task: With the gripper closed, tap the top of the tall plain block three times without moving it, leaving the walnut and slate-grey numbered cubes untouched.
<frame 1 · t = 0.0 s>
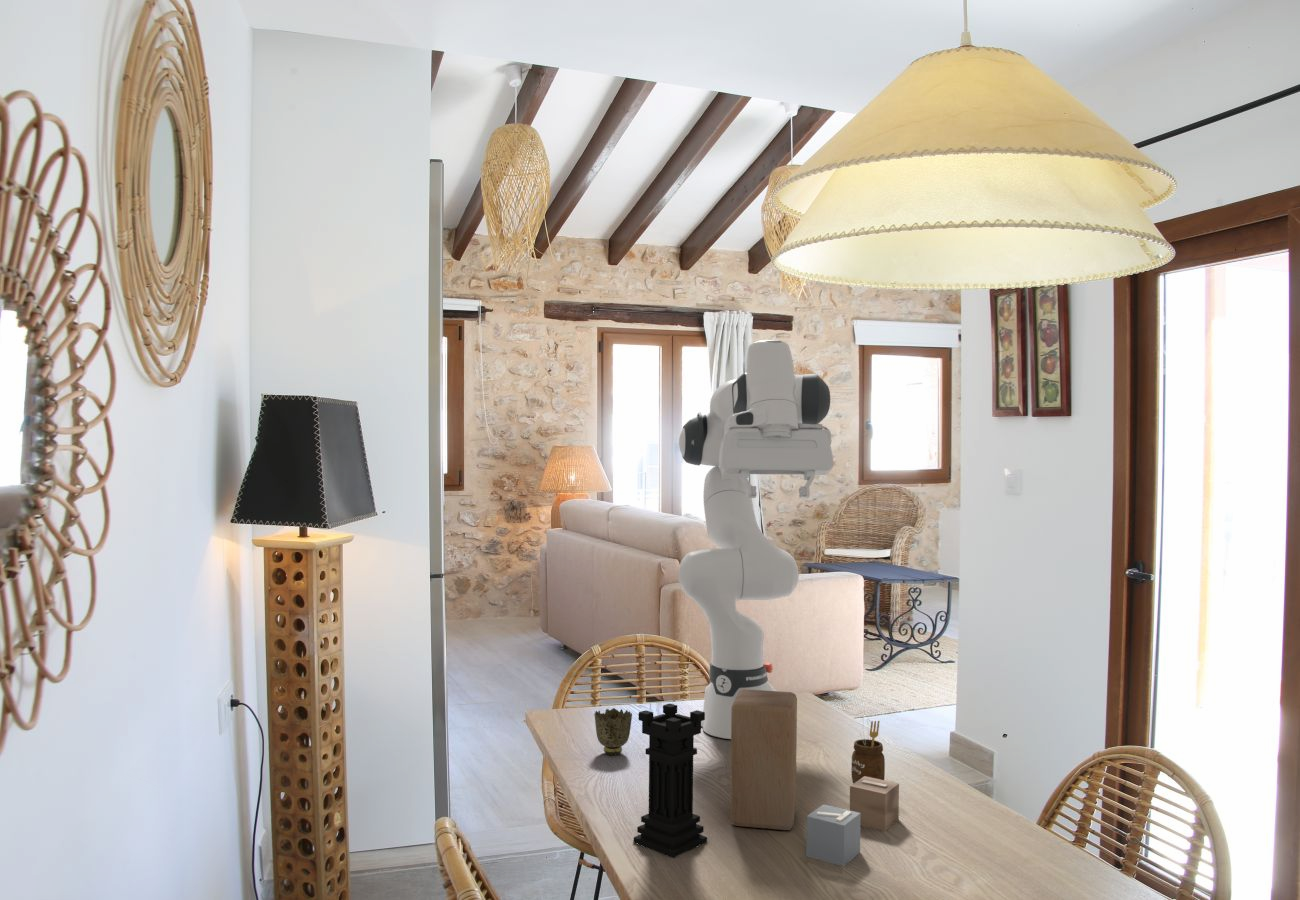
hand: (778, 497, 170), 52 cm above the table, tool tilted 20°, fingers open, 8 cm apart
block: (763, 819, 159), on the table
chess piece: (670, 843, 149), on the table
utensil holder: (868, 782, 177), on the table
walnut numbered cube: (874, 821, 159), on the table
slate numbered cube: (833, 854, 145), on the table
cup: (612, 754, 192), on the table
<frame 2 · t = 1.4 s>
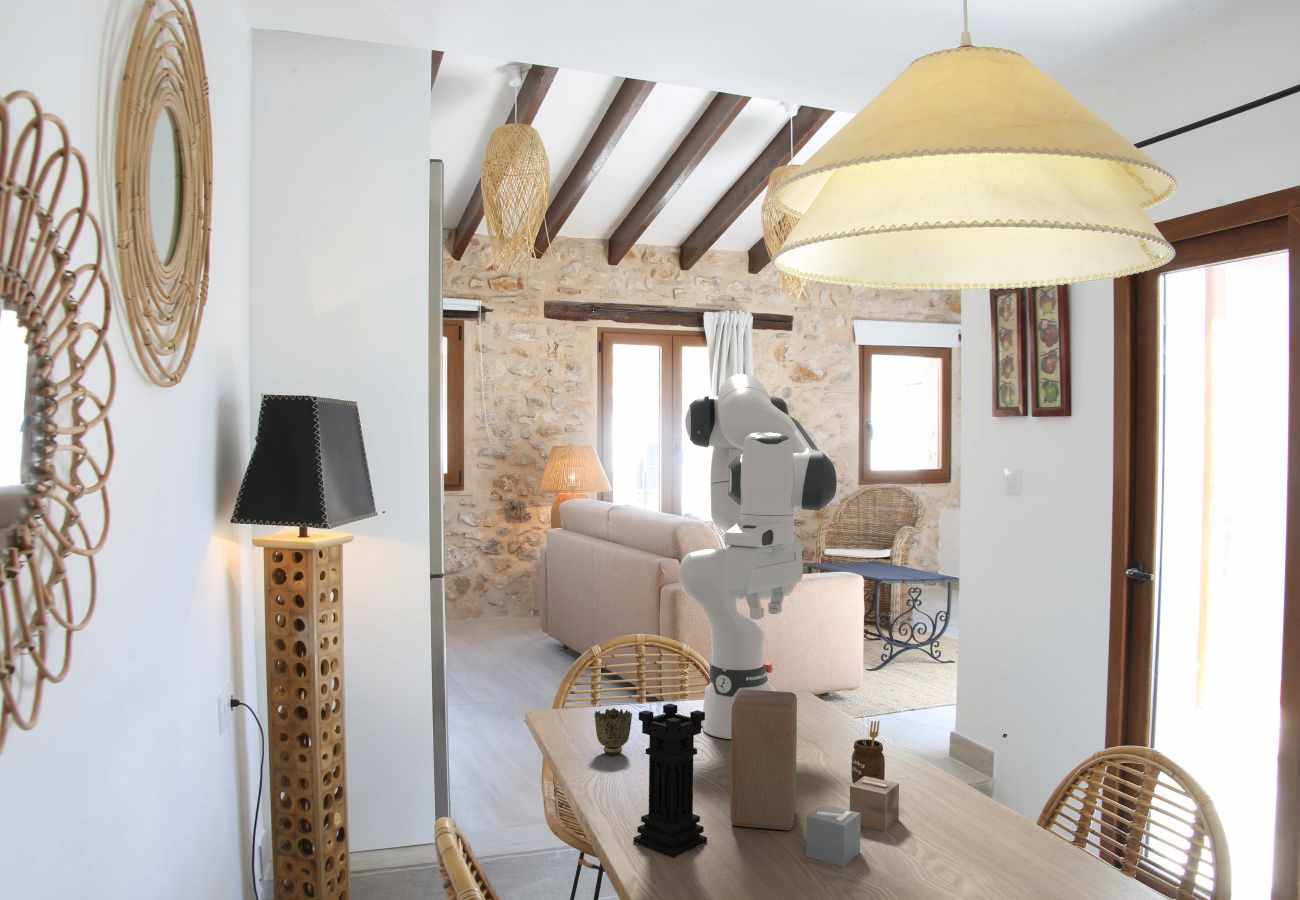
hand: (766, 616, 159), 33 cm above the table, tool pointing down, fingers open, 5 cm apart
nothing on the table moved.
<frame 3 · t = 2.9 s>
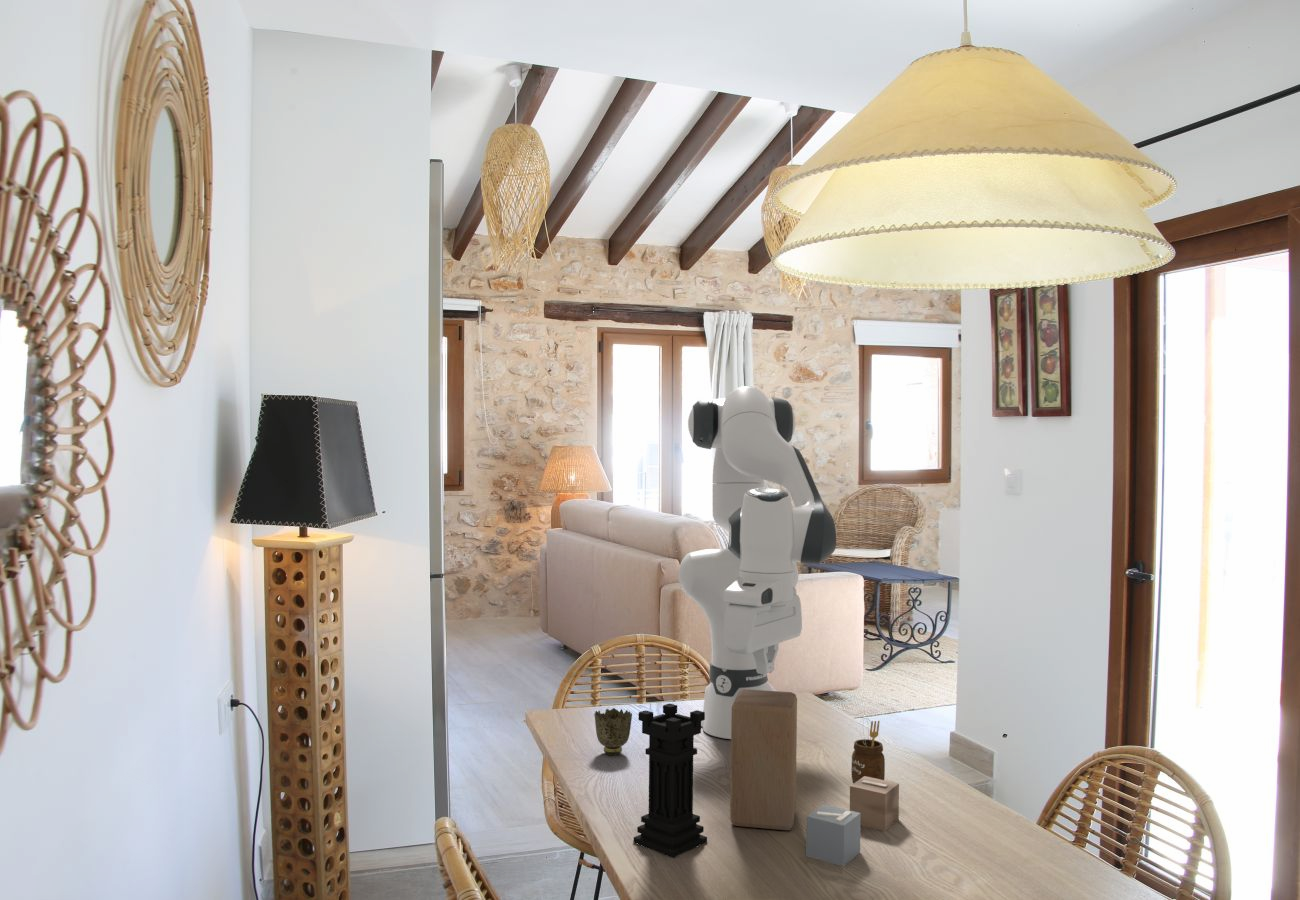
hand: (765, 672, 159), 24 cm above the table, tool pointing down, fingers closed
nothing on the table moved.
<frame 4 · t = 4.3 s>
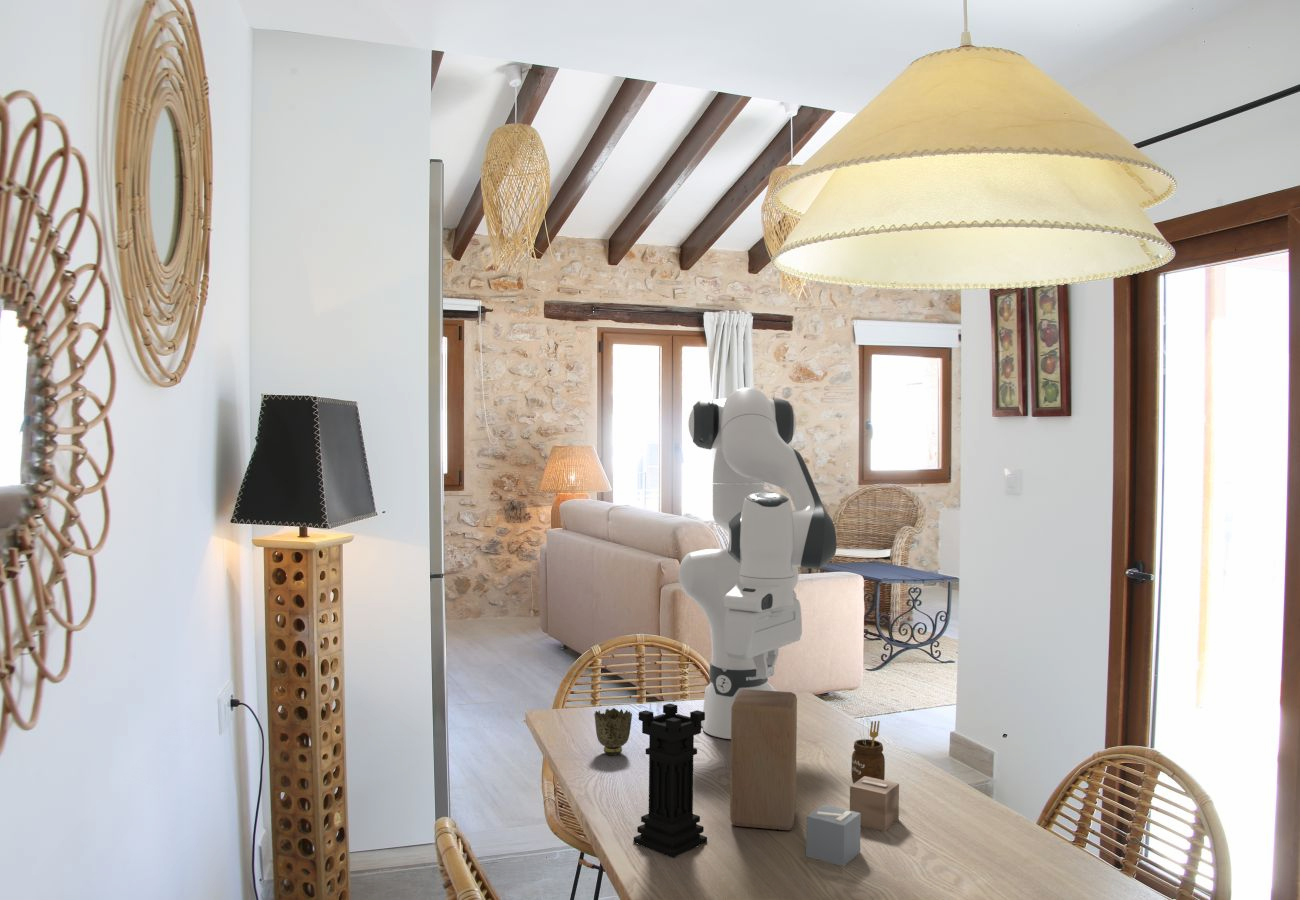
hand: (765, 677, 159), 23 cm above the table, tool pointing down, fingers closed
nothing on the table moved.
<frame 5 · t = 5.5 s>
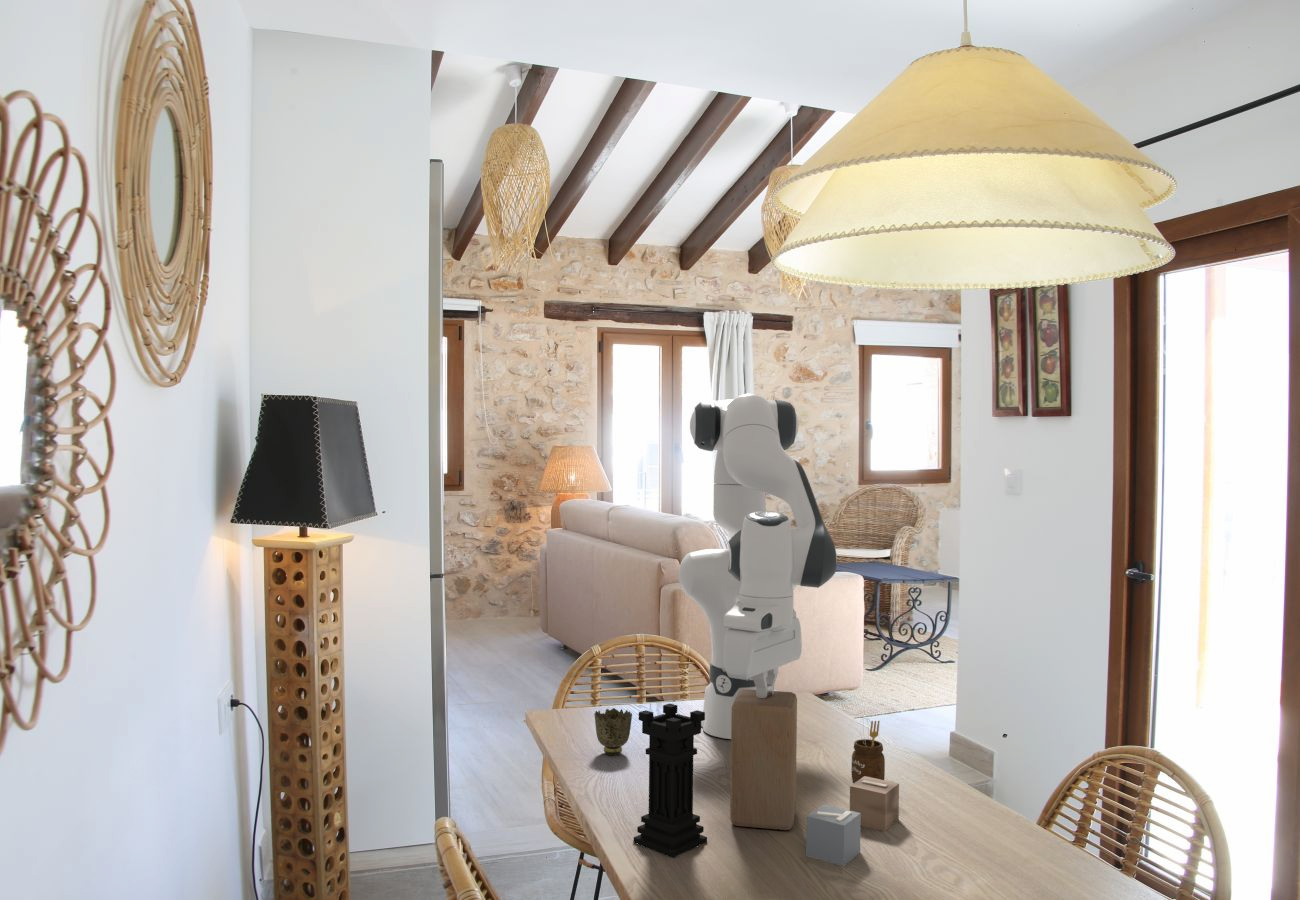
hand: (765, 696, 159), 20 cm above the table, tool pointing down, fingers closed, pressing on block
block: (763, 819, 159), on the table, touching gripper
everything else where it was.
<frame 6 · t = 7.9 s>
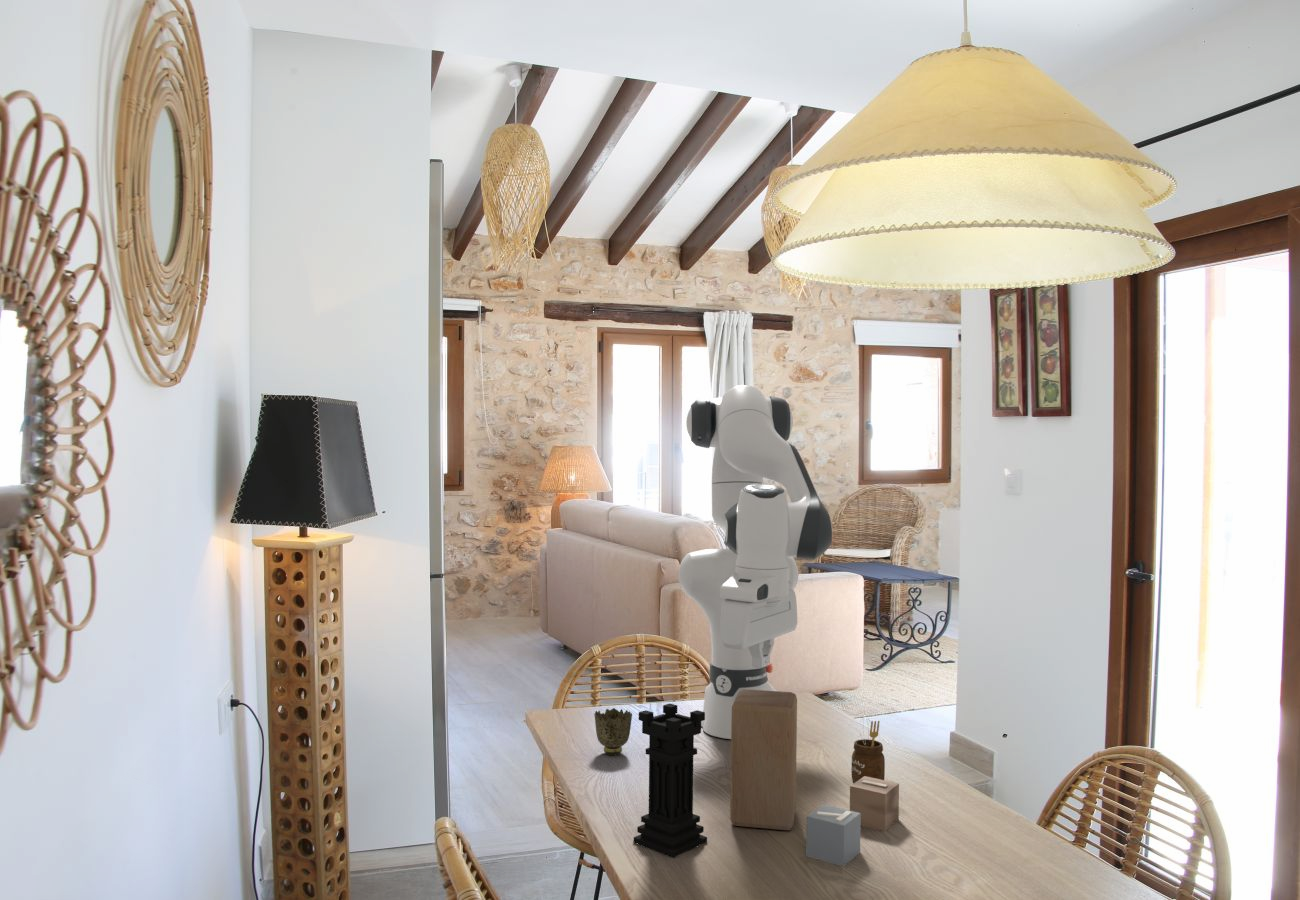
hand: (760, 666, 161), 24 cm above the table, tool pointing down, fingers closed
block: (763, 819, 159), on the table
everything else where it was.
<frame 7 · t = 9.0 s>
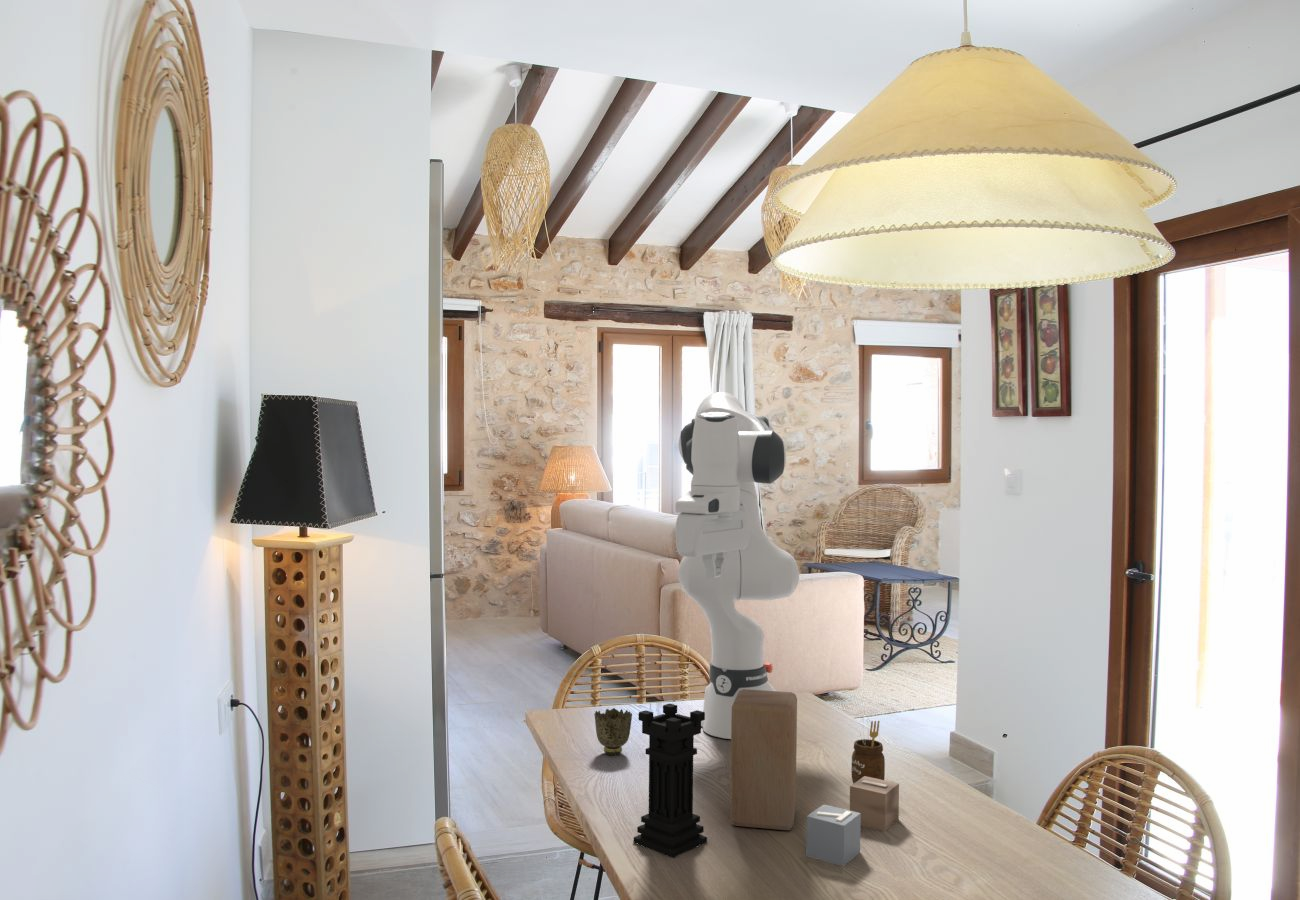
hand: (714, 577, 176), 37 cm above the table, tool pointing down, fingers closed
nothing on the table moved.
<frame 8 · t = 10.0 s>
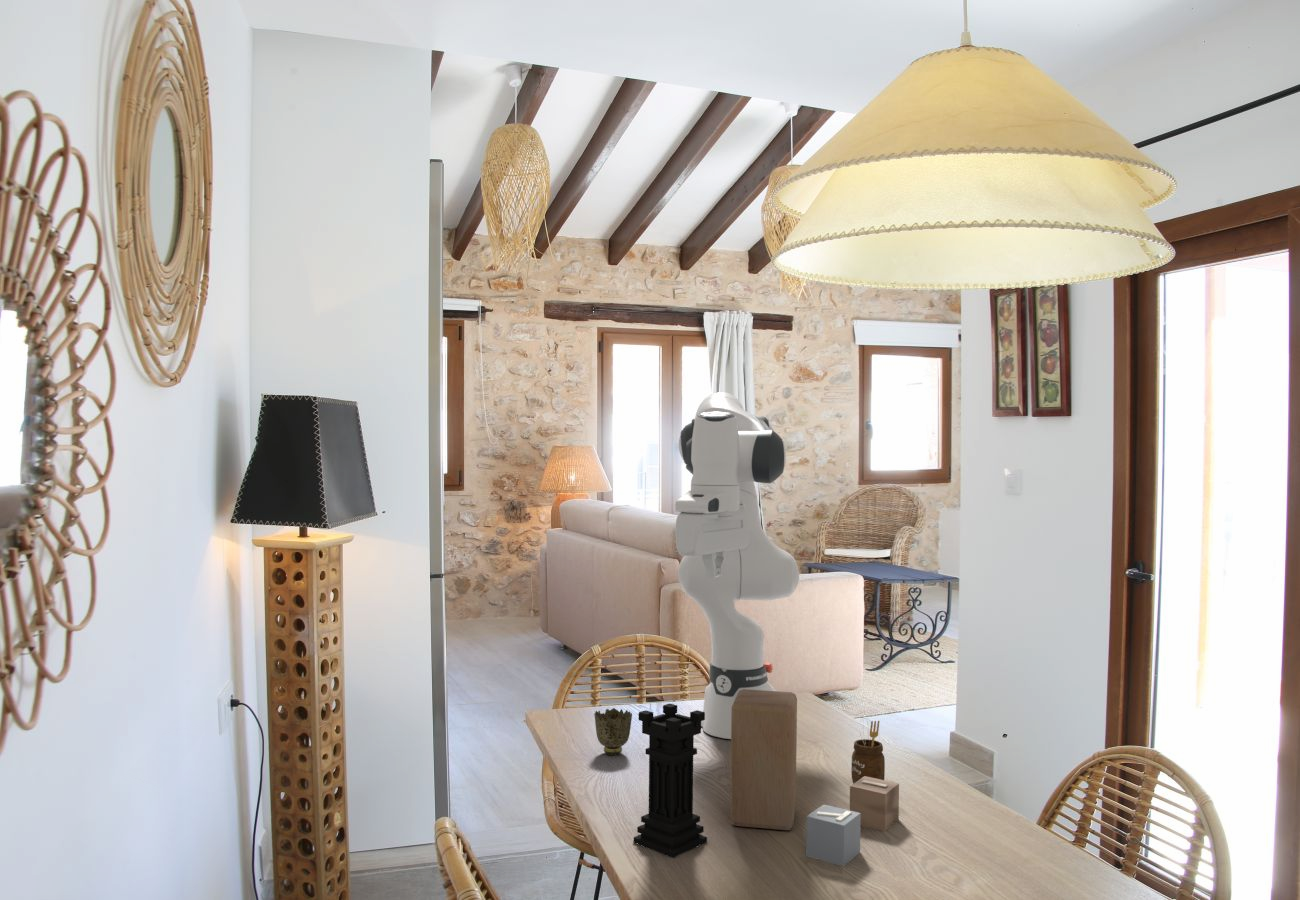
hand: (714, 577, 176), 37 cm above the table, tool pointing down, fingers closed
nothing on the table moved.
at the end: block moved 0.2 cm from its start; block tilted 0°; walnut numbered cube moved 0.1 cm from its start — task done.
